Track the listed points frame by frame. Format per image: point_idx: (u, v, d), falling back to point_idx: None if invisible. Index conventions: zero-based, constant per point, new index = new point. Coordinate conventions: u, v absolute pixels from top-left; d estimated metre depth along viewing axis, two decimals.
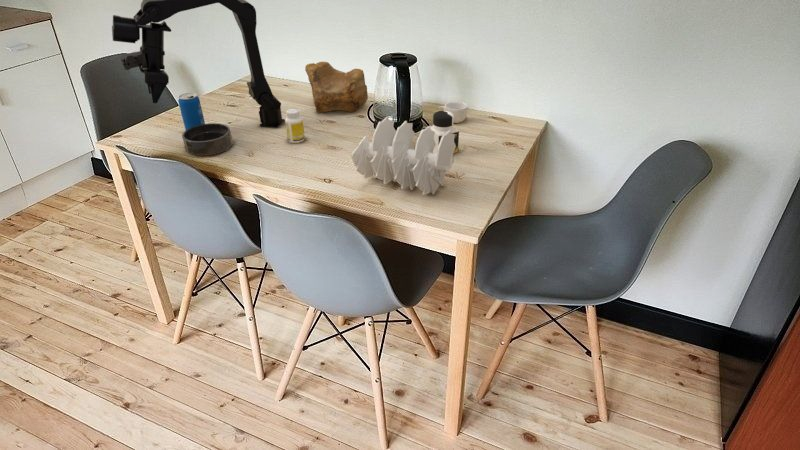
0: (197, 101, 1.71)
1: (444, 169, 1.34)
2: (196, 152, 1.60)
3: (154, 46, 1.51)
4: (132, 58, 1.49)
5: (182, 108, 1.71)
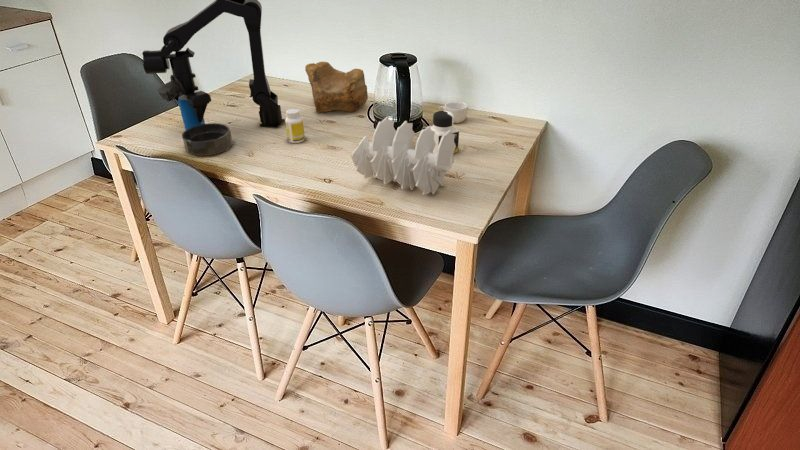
0: None
1: (444, 169, 1.34)
2: (196, 152, 1.60)
3: (180, 73, 1.64)
4: (174, 89, 1.63)
5: (182, 108, 1.71)
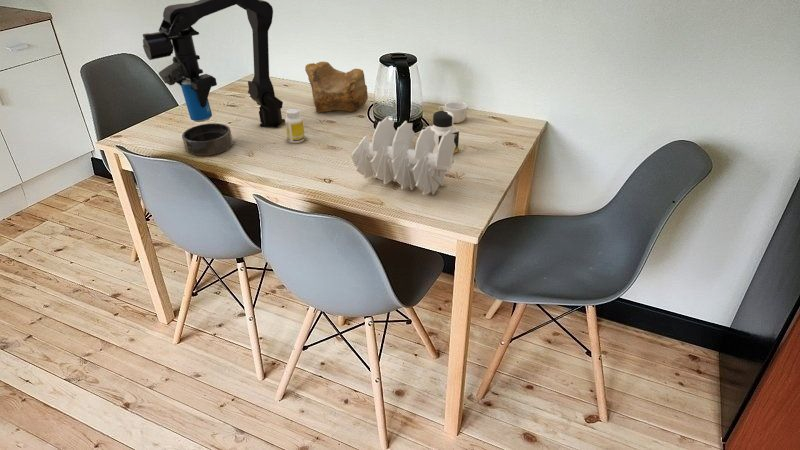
0: None
1: (444, 169, 1.34)
2: (196, 152, 1.60)
3: (189, 53, 1.52)
4: (176, 71, 1.49)
5: (185, 94, 1.58)
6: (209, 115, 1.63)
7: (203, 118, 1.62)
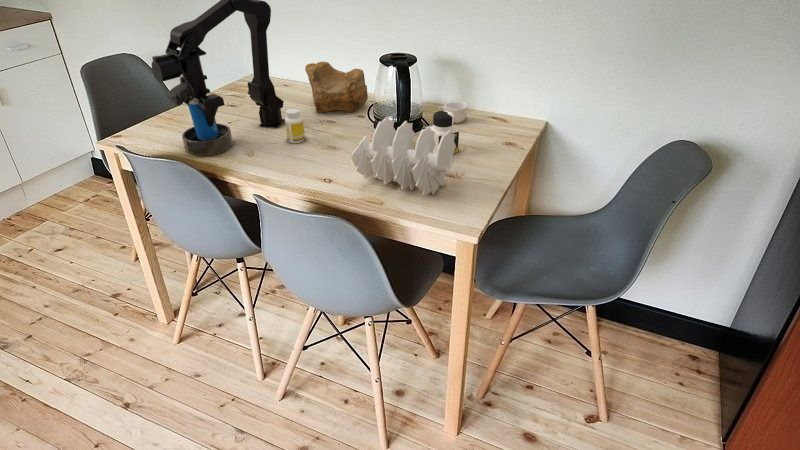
0: None
1: (444, 169, 1.34)
2: (196, 152, 1.60)
3: (197, 73, 1.52)
4: (184, 92, 1.50)
5: (193, 114, 1.58)
6: (216, 134, 1.63)
7: (210, 137, 1.62)
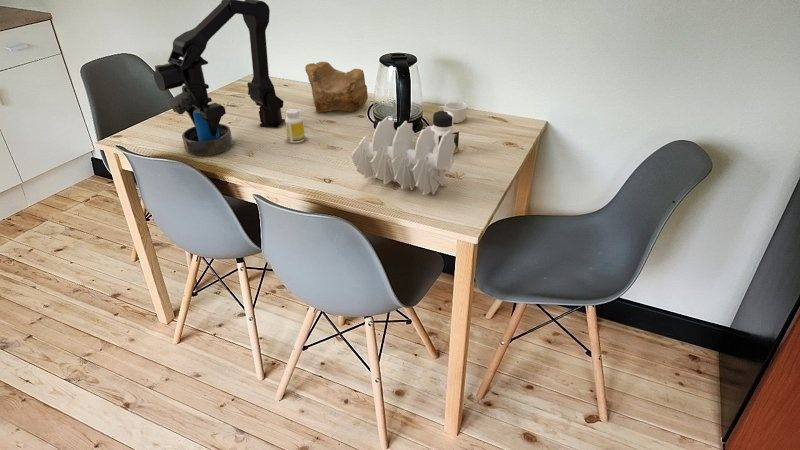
0: None
1: (444, 169, 1.34)
2: (196, 152, 1.60)
3: (199, 83, 1.54)
4: (186, 101, 1.51)
5: (197, 122, 1.59)
6: None
7: None
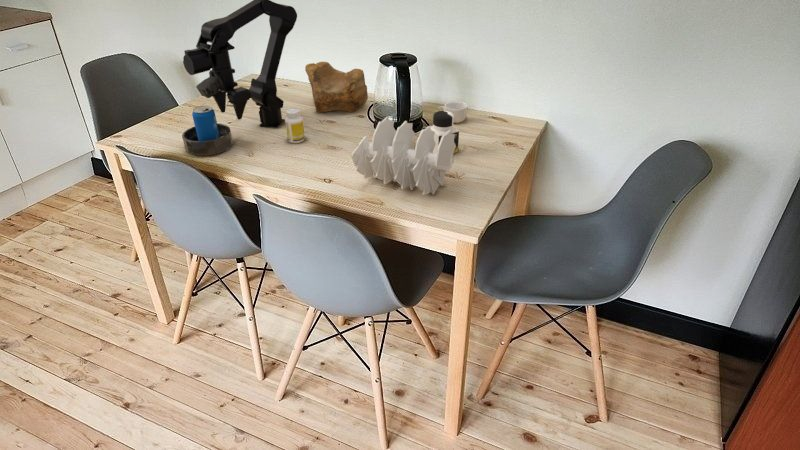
0: (212, 114, 1.60)
1: (444, 169, 1.34)
2: (196, 152, 1.60)
3: (226, 67, 1.58)
4: (214, 85, 1.56)
5: (196, 122, 1.59)
6: None
7: None
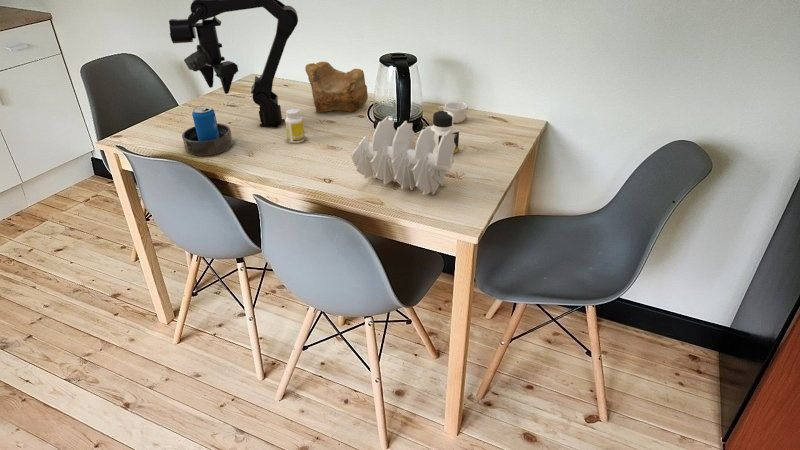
0: (212, 114, 1.60)
1: (444, 169, 1.34)
2: (196, 152, 1.60)
3: (207, 42, 1.61)
4: (201, 58, 1.59)
5: (196, 122, 1.59)
6: None
7: None
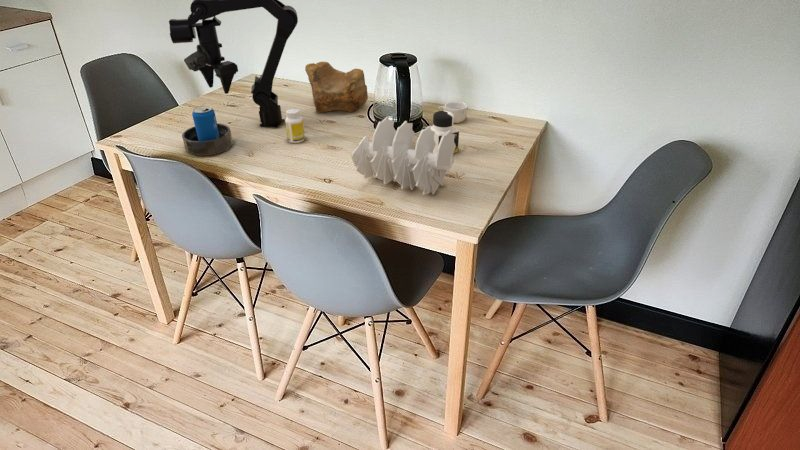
0: (212, 114, 1.60)
1: (444, 169, 1.34)
2: (196, 152, 1.60)
3: (207, 42, 1.61)
4: (201, 58, 1.60)
5: (196, 122, 1.59)
6: None
7: None
